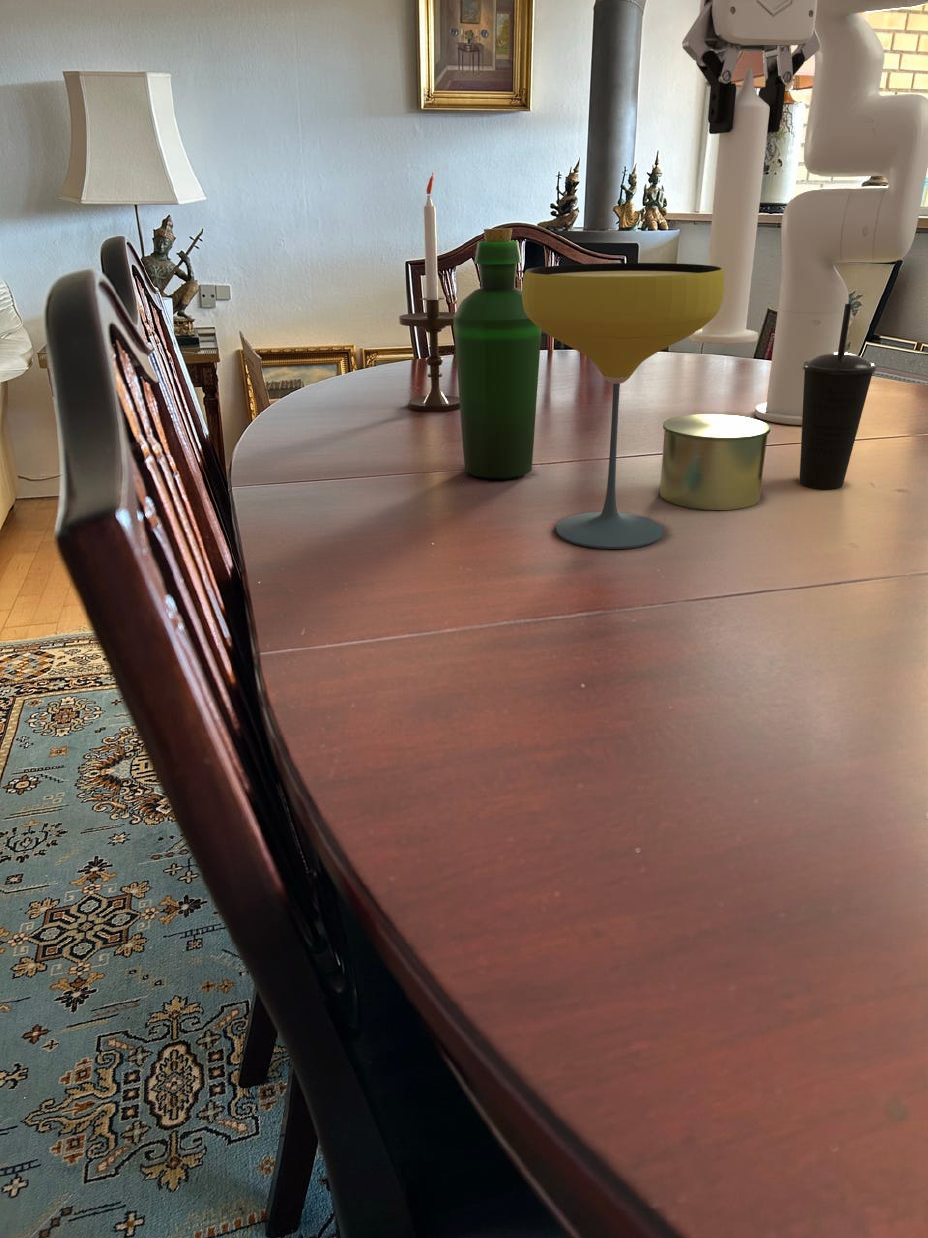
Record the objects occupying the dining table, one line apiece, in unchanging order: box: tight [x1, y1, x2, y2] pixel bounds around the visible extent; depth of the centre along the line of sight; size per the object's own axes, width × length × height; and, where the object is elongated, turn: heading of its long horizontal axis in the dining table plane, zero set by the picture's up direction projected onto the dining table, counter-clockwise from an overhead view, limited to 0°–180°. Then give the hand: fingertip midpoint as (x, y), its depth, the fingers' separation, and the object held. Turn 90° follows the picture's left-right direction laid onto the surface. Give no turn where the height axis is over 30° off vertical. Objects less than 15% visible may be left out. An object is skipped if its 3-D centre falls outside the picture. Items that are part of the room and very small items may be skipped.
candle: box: [688, 67, 770, 345], centre depth 90 cm, size 7×7×25 cm
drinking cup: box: [798, 303, 877, 490], centre depth 101 cm, size 8×8×20 cm
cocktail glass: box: [521, 262, 724, 550], centre depth 86 cm, size 18×18×25 cm
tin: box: [659, 413, 771, 511], centre depth 100 cm, size 11×11×8 cm
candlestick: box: [398, 172, 460, 413], centre depth 142 cm, size 11×11×35 cm
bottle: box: [453, 228, 542, 481], centre depth 106 cm, size 11×11×28 cm
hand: (743, 130), depth 87 cm, fingers closed on candle, 4 cm apart
